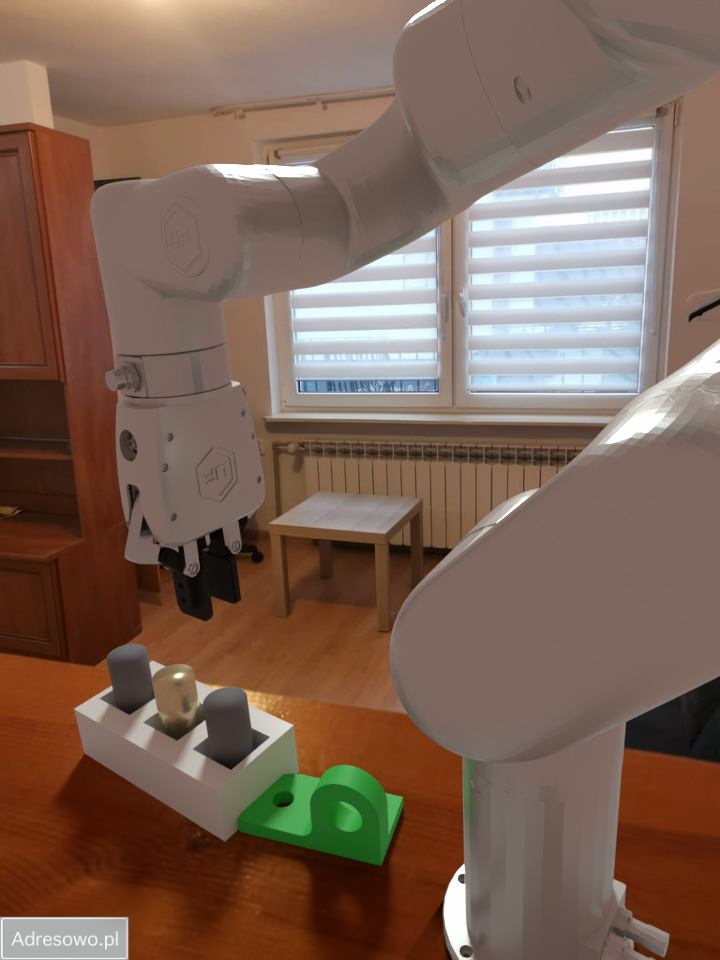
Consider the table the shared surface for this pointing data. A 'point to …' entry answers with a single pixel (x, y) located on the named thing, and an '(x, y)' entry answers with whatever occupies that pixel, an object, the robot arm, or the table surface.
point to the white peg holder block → (186, 758)
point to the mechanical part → (327, 813)
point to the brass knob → (176, 700)
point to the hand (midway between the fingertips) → (210, 605)
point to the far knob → (130, 677)
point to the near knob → (228, 726)
